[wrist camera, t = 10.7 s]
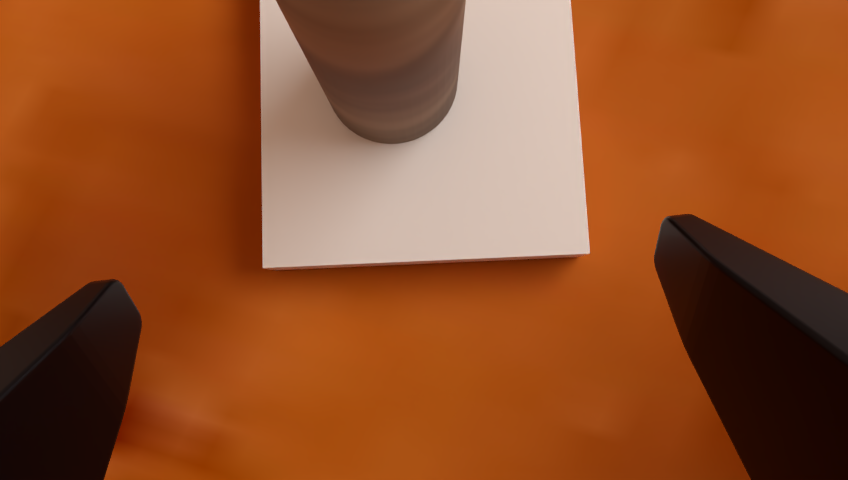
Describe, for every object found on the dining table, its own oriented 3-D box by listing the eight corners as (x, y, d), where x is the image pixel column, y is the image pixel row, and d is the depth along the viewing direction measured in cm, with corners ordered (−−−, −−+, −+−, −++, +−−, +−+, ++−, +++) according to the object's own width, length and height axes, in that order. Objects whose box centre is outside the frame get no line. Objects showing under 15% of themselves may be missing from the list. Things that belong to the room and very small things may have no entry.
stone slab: (579, 257, 21) (590, 253, 20) (274, 270, 22) (262, 268, 20) (551, -119, 23) (559, -148, 22) (269, -104, 23) (258, -132, 22)
